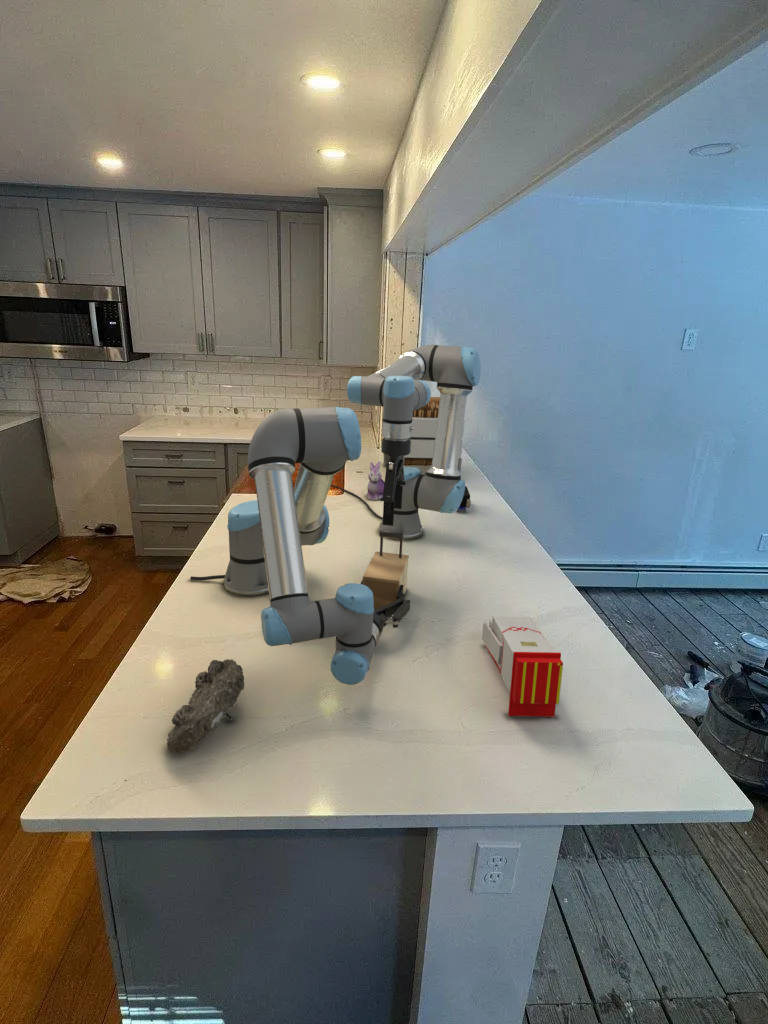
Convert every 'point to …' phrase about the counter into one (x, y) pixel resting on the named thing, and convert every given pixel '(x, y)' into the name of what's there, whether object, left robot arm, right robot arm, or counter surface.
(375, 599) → the chest
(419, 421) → the grey boxy piece
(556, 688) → the toy
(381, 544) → the lid
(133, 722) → the counter surface
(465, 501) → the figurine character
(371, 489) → the figurine
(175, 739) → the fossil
